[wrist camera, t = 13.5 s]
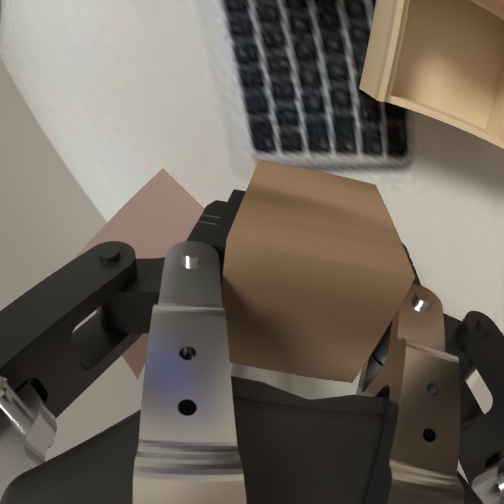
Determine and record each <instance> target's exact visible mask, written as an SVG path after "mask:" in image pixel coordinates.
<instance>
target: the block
mask: <svg viewBox="0 0 504 504" xmlns="http://www.w3.org/2000/svg"><path fill="white" fill-rule="evenodd" d="M414 279H415V275H414V273H413V270H412V267H411V265H410V262H409V260H408V257H407V255H406V252H405V250H404V247H403V245H402V242H401V240H400V238H399V235H398V233H397V231H396V228H395V226H394V224H393V221H392V219H391V217H390V215H389V213H388V210H387V208H386V206H385V204H384V202H383V200H382V197H381V195H380V193H379V191H378V189H377V187H376V185H374V184H370V183H366V182H362V181H358V180H354V179H350V178H346V177H342V176H337V175H333V174H329V173H324V172H320V171H316V170H311V169H306V168H302V167H297V166H292V165H287V164H282V163H277V162H272V161H266V160H261V159H259V162H258V164H257V166H256V169H255V171H254V174H253V176H252V178H251V181H250V183H249V186H248V188H247V190H246V193H245V195H244V198H243V200H242V202H241V205H240V207H239V210H238V212H237V215H236V217H235V219H234V222H233V224H232V227H231V229H230V232H229V234H228V237H227V240H226V249H225V258H224V267H223V277H222V286H221V300H222V307H225V311H226V323H227V336H228V349H229V361H230V363H235V364H240V365H245V366H250V367H255V368H260V369H265V370H270V371H276V372H282V373H288V374H294V375H300V376H306V377H313V378H320V379H327V380H334V381H342V382H350V383H352V382H353V381H354V379H355V378H356V376H357V375H358V373H359V372H360V370H361V369H362V367H363V366H364V364H365V363H366V361H367V360H368V358H369V357H370V355H371V353H372V352H373V350H374V349H375V347H376V346H377V344H378V342H379V341H380V339H381V337H382V336H383V334H384V333H385V331H386V329H387V327H388V326H389V324H390V322H391V321H392V319H393V317H394V316H395V314H396V312H397V310H398V308H399V307H400V305H401V303H402V301H403V300H404V298H405V296H406V294H407V292H408V290H409V288H410V287H411V285H412V283H413V281H414Z"/></svg>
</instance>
